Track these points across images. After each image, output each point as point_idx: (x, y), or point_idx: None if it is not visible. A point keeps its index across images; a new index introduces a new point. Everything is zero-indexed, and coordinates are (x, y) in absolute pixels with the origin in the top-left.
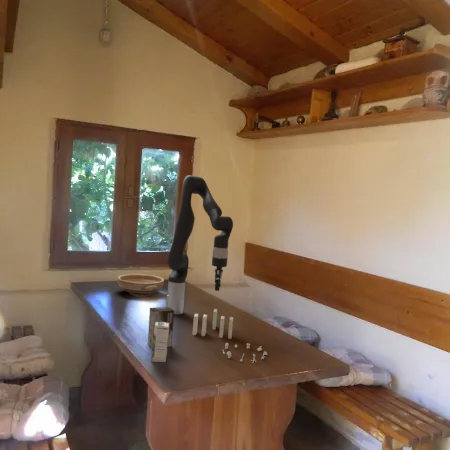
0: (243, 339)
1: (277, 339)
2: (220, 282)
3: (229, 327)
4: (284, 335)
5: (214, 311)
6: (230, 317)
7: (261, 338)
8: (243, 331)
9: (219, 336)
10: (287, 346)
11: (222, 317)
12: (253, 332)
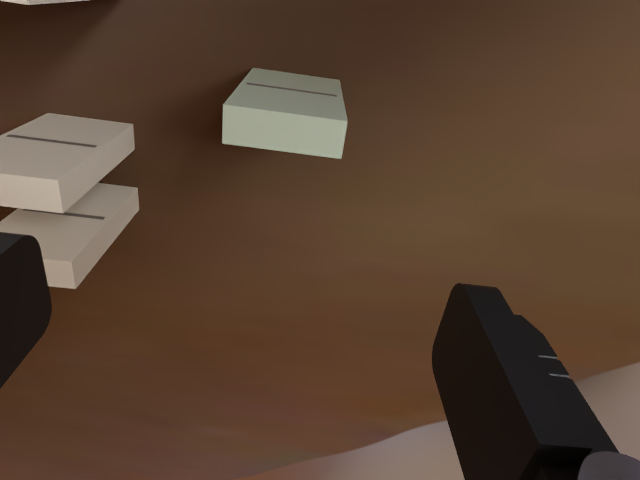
0: None
1: (162, 426)
2: (462, 462)
3: (11, 219)
4: (244, 460)
5: (228, 116)
6: (49, 264)
7: (148, 364)
8: (260, 290)
9: (43, 117)
10: (66, 446)
11: (3, 189)
12: (254, 340)
